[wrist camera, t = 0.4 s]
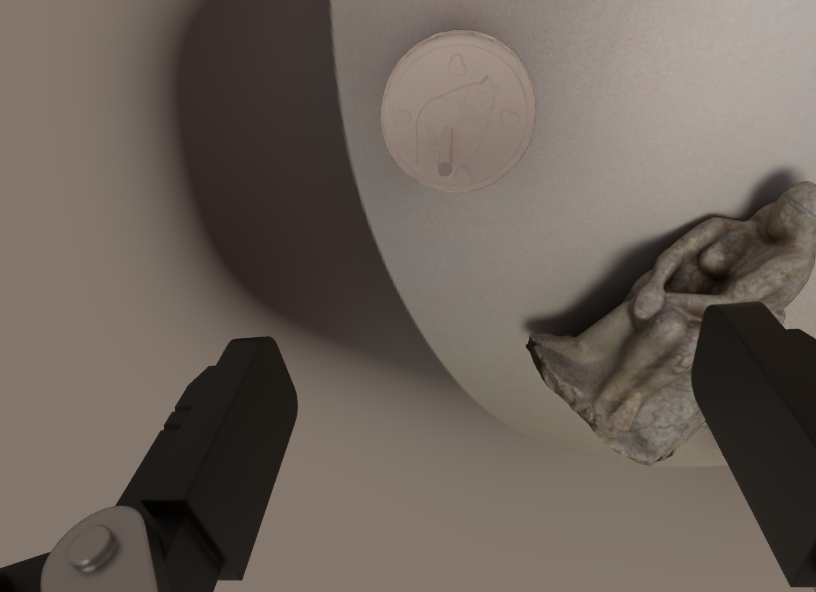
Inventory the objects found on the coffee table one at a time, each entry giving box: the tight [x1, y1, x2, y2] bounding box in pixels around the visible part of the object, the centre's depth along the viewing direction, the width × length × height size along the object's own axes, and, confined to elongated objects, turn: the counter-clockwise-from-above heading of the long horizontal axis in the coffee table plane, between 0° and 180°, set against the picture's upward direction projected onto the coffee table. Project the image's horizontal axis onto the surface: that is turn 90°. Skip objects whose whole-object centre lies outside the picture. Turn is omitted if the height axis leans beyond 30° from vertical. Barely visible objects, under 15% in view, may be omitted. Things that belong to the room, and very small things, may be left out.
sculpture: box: [526, 181, 816, 466], centre depth 31 cm, size 11×18×12 cm
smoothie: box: [381, 30, 536, 193], centre depth 23 cm, size 6×6×14 cm
